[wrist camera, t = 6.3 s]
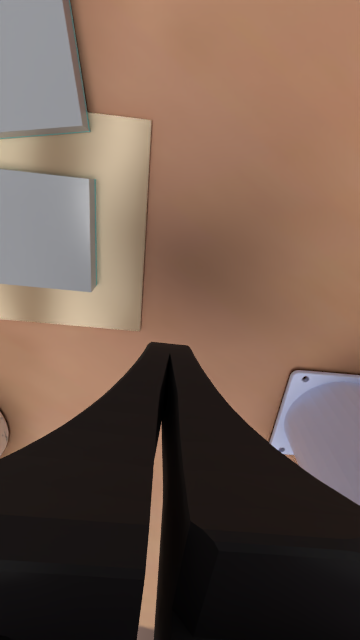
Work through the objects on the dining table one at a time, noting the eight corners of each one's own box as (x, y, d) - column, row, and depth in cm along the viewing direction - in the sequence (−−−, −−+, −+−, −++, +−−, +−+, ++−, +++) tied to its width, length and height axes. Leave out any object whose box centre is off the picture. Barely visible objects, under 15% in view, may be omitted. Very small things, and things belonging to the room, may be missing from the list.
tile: (88, 179, 15) (-57, 162, 15) (91, 292, 17) (-33, 280, 17) (95, 179, 16) (-38, 164, 16) (97, 284, 19) (-19, 273, 18)
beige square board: (151, 121, 15) (151, 120, 15) (140, 329, 20) (139, 331, 20) (-92, 91, 15) (-97, 89, 15) (-42, 313, 20) (-45, 315, 20)
